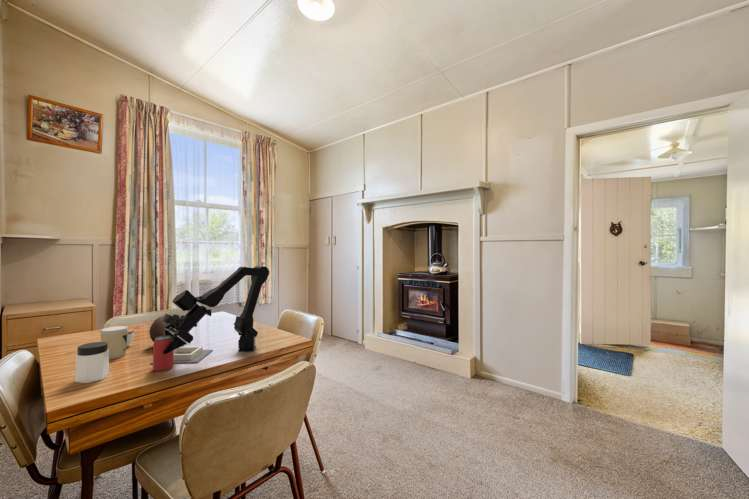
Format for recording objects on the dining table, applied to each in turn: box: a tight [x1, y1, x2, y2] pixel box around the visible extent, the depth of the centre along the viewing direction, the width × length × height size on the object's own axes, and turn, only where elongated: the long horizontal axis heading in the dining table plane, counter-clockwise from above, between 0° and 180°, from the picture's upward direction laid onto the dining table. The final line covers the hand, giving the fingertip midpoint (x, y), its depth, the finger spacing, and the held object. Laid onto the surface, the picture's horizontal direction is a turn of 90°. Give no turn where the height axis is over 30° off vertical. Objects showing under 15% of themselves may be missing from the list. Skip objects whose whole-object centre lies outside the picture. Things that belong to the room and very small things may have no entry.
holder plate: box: [149, 346, 214, 365], centre depth 137 cm, size 18×16×3 cm
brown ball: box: [149, 313, 181, 343], centre depth 153 cm, size 15×15×15 cm
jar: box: [75, 341, 110, 384], centre depth 114 cm, size 9×8×12 cm
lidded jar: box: [126, 327, 135, 348], centre depth 150 cm, size 11×11×9 cm
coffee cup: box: [99, 325, 128, 360], centre depth 137 cm, size 9×9×12 cm
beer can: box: [152, 336, 174, 372], centre depth 124 cm, size 7×7×12 cm
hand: (160, 350), depth 123 cm, fingers open, 9 cm apart
